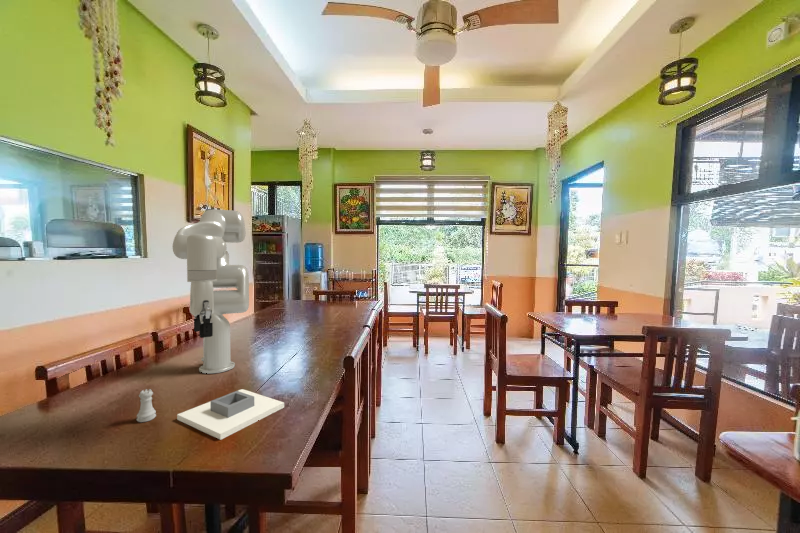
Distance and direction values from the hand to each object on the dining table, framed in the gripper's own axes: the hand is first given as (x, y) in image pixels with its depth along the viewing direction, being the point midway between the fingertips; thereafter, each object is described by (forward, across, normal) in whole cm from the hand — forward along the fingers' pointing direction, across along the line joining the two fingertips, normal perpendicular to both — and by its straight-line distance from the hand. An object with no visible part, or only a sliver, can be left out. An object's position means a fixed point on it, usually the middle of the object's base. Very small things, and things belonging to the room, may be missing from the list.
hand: (203, 333), depth 97 cm
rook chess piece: (+23, -4, -14) cm, 27 cm away
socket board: (+23, +8, +6) cm, 25 cm away
